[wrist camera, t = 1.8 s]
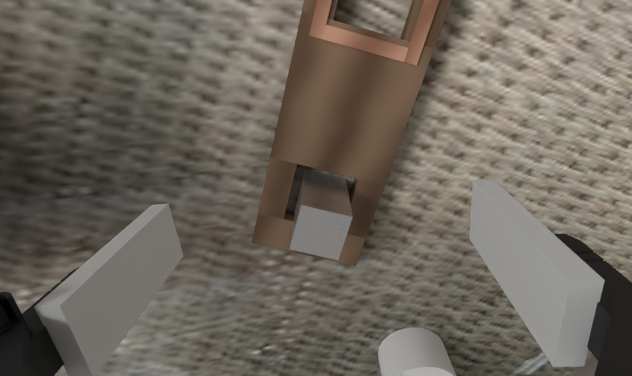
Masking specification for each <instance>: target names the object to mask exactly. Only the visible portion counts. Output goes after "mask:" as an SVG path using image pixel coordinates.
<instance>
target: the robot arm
mask: <svg viewBox="0 0 632 376" xmlns="http://www.w3.org/2000/svg"><path fill="white" fill-rule="evenodd" d="M469 239H470V241H471V242H472V244H473V245H474V247H475V248H476V250H477V251H478V253H479V254H480V256H481V258H482V259H483V261H484V262H485V264H486V265H487V267H488V268H489V270H490V271H491V273H492V274H493V276H494V277H495V279H496V280H497V282H498V283H499V285H500V286H501V288H502V290H503V291H504V293H505V294H506V296H507V297H508V299H509V300H510V302H511V303H512V305H513V306H514V308H515V309H516V311H517V312H518V314H519V315H520V317H521V318H522V320H523V322H524V323H525V325H526V326H527V328H528V329H529V331H530V332H531V334H532V335H533V337H534V338H535V340H536V341H537V343H538V344H539V346H540V347H541V349H542V350H543V352H544V354H545V355H546V357H547V358H548V360H549V361H550V363H551V364H552V366H553V367H581V366H584V365H585V361H586V357H587V353H588V349H589V350H590V351H591V352H592V354H593V355H594V356H595V357H596V359H597V360H598V365H597V369H596V372H595V376H632V283H631V282H630V281H629V280H628V279H627V278H625V277H624V276H623V275H622V274H621V273H619V272H618V271H617V270H616V269H615V268H613V267H612V266H611V265H610V264H608V263H607V262H606V261H603V259H602V258H601V257H600V256H599V255H598V254H596V253H594V252H593V250H591V249H590V248H589V247H588V246H587V245H585V244H584V243H583V242H582V241H580V240H578V239H575V238H573V237H571V236H569V235H567V234H553V233H552V232H551V231H550V230H548V229H547V228H546V227H545V226H544V225H543V224H542V223H541V222H540V221H538V220H537V219H536V218H535V217H534V216H533V215H532V214H531V213H530V212H528V211H527V210H526V209H525V208H524V207H523V206H522V205H521V204H520V203H518V202H517V201H516V200H515V199H514V198H513V197H512V196H511V195H510V194H508V193H507V192H506V191H505V190H504V189H503V188H502V187H501V186H500V185H498V184H497V183H496V182H495V181H494V180H493V179H487V180H474V181H473V188H472V204H471V220H470V236H469ZM182 258H183V252H182V249H181V245H180V242H179V238H178V235H177V232H176V228H175V225H174V221H173V218H172V214H171V211H170V208H169V204H156V205H151V206H150V207H149V208H148V209H147V210H145V211H144V212H143V213H142V214H141V215H140V216H139V217H137V218H136V219H135V220H134V221H133V222H132V223H130V224H129V225H128V226H127V227H126V228H125V229H124V230H122V231H121V232H120V233H119V234H118V235H117V236H115V237H114V238H113V239H112V240H111V241H110V242H109V243H107V244H106V245H105V246H104V247H103V248H102V249H100V250H99V251H98V252H97V253H96V254H95V255H94V256H92V257H91V258H90V259H89V260H88V261H87V262H85V263H84V264H83V265H82V266H81V267H79V268H77V269H75V270H74V271H72V272H71V273H69V274H68V275H67V276H66V277H65V278H64V279H62V280H61V283H58V284H57V285H55V286H54V287H53V288H52V289H51V291H48V292H47V293H46V294H45V295H44V296H43V297H41V298H40V299H39V300H38V301H37V302H36V303H34V304H33V305H32V306H31V307H30V308H29V309H27V310H26V311H25V312H24V313H23V314H22V313H21V312H20V310H19V308H18V306H17V304H16V302H15V300H14V298H13V296H12V295H11V293H9V292H0V376H54V375H55V374H56V372H57V371H58V370H59V369H60V368H61V367H62V365H64V367H65V369H66V371H67V373H68V375H69V376H96V375H97V374H98V372H99V371H100V370H101V368H102V367H103V366H104V364H105V363H106V362H107V360H108V359H109V357H110V356H111V355H112V353H113V352H114V351H115V349H116V348H117V346H118V345H119V344H120V342H121V341H122V340H123V338H124V337H125V336H126V334H127V333H128V331H129V330H130V329H131V327H132V326H133V325H134V323H135V322H136V320H137V319H138V318H139V316H140V315H141V314H142V312H143V311H144V310H145V308H146V307H147V305H148V304H149V303H150V301H151V300H152V299H153V297H154V296H155V294H156V293H157V292H158V290H159V289H160V288H161V286H162V285H163V284H164V282H165V281H166V279H167V278H168V277H169V275H170V274H171V273H172V271H173V270H174V268H175V267H176V266H177V264H178V263H179V262H180V260H181V259H182Z"/></svg>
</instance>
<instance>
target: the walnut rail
mask: <svg viewBox="0 0 632 376" xmlns="http://www.w3.org/2000/svg"><path fill="white" fill-rule="evenodd" d="M451 1H452V0H413V1H412V4H411V7H410V11H409V14H408V17H407V20H406V23H405V26H404V29H403V32H402V35H401V38H400V39H398V38H394V37H391V36H387V35H384V34H380V33H377V32H373V31H370V30H366V29H363V28H359V27H356V26H352V25H349V24H345V23H342V22H338V21H335V20H333V18H334V14H335V10H336V6H337V2H338V0H304V4H303V9H302V13H301V18H300V23H299V27H298V32H297V37H296V41H295V46H294V50H293V55H292V60H291V64H290V69H289V74H288V78H287V83H286V87H285V92H284V97H283V101H282V106H281V111H280V115H279V120H278V125H277V129H276V134H275V138H274V143H273V148H272V152H271V157H270V162H269V166H268V171H267V175H266V180H265V185H264V189H263V194H262V199H261V203H260V208H259V212H258V217H257V222H256V226H255V231H254V236H253V240H252V243H255V244H260V245H264V246H269V247H273V248H278V249H282V250H287V251H291V252H296V253H300V254H305V255H309V256H314V257H318V258H323V259H327V260H332V261H336V262H340V263H345V264H349V265H354V266H356V264H357V261H358V258H359V255H360V253H361V250H362V247H363V244H364V242H365V239H366V236H367V233H368V231H369V228H370V225H371V222H372V219H373V217H374V214H375V211H376V208H377V206H378V203H379V200H380V197H381V195H382V192H383V189H384V186H385V183H386V181H387V178H388V175H389V172H390V170H391V167H392V164H393V161H394V159H395V156H396V153H397V150H398V147H399V145H400V142H401V139H402V136H403V134H404V131H405V128H406V125H407V123H408V120H409V117H410V114H411V111H412V109H413V106H414V103H415V100H416V98H417V95H418V92H419V89H420V87H421V84H422V81H423V78H424V76H425V73H426V70H427V67H428V64H429V62H430V59H431V56H432V53H433V51H434V48H435V45H436V42H437V40H438V37H439V34H440V31H441V28H442V26H443V23H444V20H445V17H446V15H447V12H448V9H449V6H450V4H451ZM297 164H299V165H303V166H308V167H312V168H316V169H320V170H324V171H328V172H332V173H336V174H340V175H344V176H348V177H352V178H355V181H354V184H353V187H352V190H351V193H350V196H349V199H350V205H351V210H352V216H353V218H352V221H351V224H350V227H349V230H348V233H347V236H346V239H345V242H344V245H343V248H342V251H341V254H340V257H339V260H335V259H331V258H326V257H322V256H317V255H313V254H308V253H304V252H299V251H295V250H290V249H289V248H290V241H291V235H292V228H293V221H294V214H295V213H292V212H287V211H286V207H287V203H288V199H289V195H290V191H291V187H292V183H293V179H294V175H295V171H296V167H297Z"/></svg>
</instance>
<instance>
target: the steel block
mask: <svg viewBox="0 0 632 376" xmlns="http://www.w3.org/2000/svg"><path fill="white" fill-rule="evenodd" d="M352 218H353V216H352V210H351V205H350V199H349V194H348V188H347V183H346V178H342V177H338V176H334V175H330V174H326V173H322V172H318V171H314V170H309V169H305V172H304V175H303V179H302V183H301V187H300V191H299V195H298V198H297V202H296V207H295V214H294V221H293V228H292V235H291V241H290V248H289V249H290V250H295V251H299V252H304V253H308V254H313V255H317V256H322V257H326V258H331V259H335V260H339V257H340V254H341V251H342V248H343V245H344V242H345V239H346V236H347V233H348V230H349V227H350V224H351V221H352Z"/></svg>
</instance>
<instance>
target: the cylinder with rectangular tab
mask: <svg viewBox="0 0 632 376" xmlns="http://www.w3.org/2000/svg"><path fill="white" fill-rule="evenodd" d="M378 358H379V364H380V369H381V375H382V376H456V374H455V372H454V369H453V367H452V364H451V362H450V359H449V357H448V354H447V352H446V349H445V347H444V344H443V342H442V340H441V339H440V338H439V336H438V335H437V334H435V333H433V332H432V331H430V330H426V329H423V328H405V329H402V330H399V331H396V332H394V333H392V334H390V335H389V336H388V337H387V338H386V339H384V340H383V342H382V343H381V345H380V347H379V351H378Z"/></svg>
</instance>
